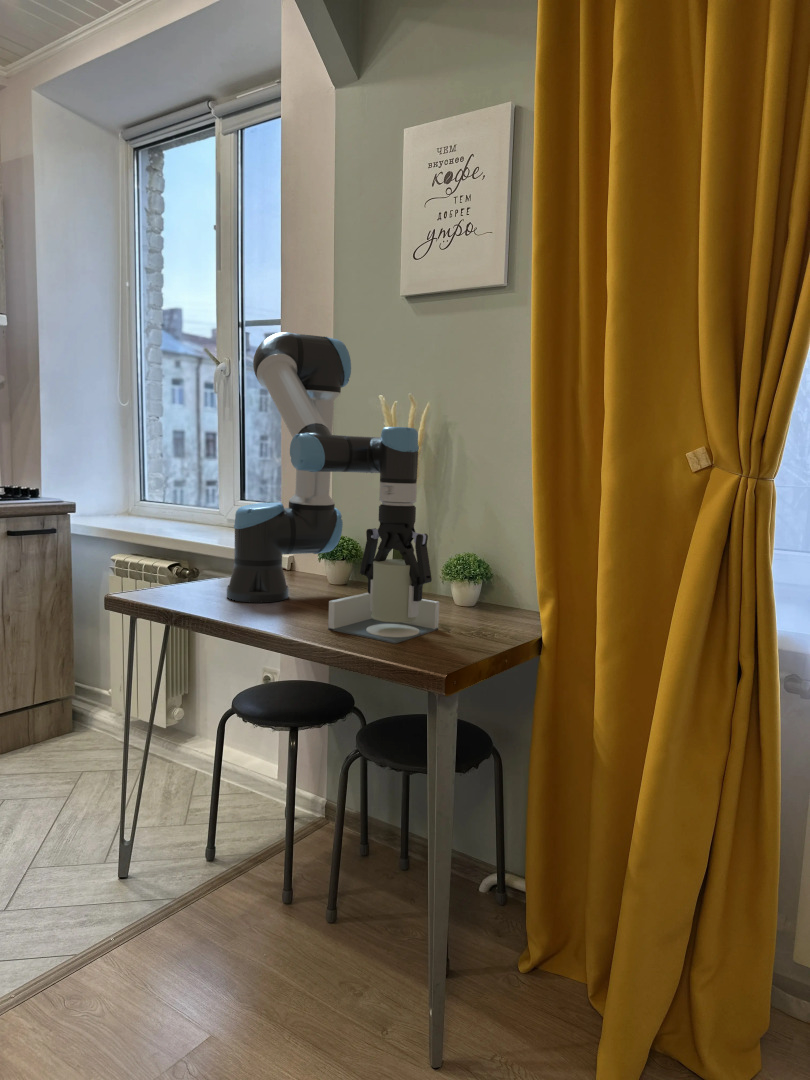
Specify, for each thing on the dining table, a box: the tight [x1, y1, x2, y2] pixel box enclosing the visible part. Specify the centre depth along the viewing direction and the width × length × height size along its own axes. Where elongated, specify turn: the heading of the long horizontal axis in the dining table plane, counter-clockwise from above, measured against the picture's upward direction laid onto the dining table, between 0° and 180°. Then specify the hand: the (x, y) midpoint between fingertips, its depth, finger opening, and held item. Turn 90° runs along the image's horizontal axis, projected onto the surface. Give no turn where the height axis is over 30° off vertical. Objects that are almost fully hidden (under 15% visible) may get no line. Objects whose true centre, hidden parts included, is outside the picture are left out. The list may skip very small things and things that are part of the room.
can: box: [371, 558, 416, 623], centre depth 152 cm, size 9×9×12 cm
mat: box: [327, 618, 439, 644], centre depth 156 cm, size 17×16×1 cm
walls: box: [327, 592, 440, 632], centre depth 155 cm, size 17×16×6 cm
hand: (393, 613), depth 153 cm, fingers closed on can, 9 cm apart
